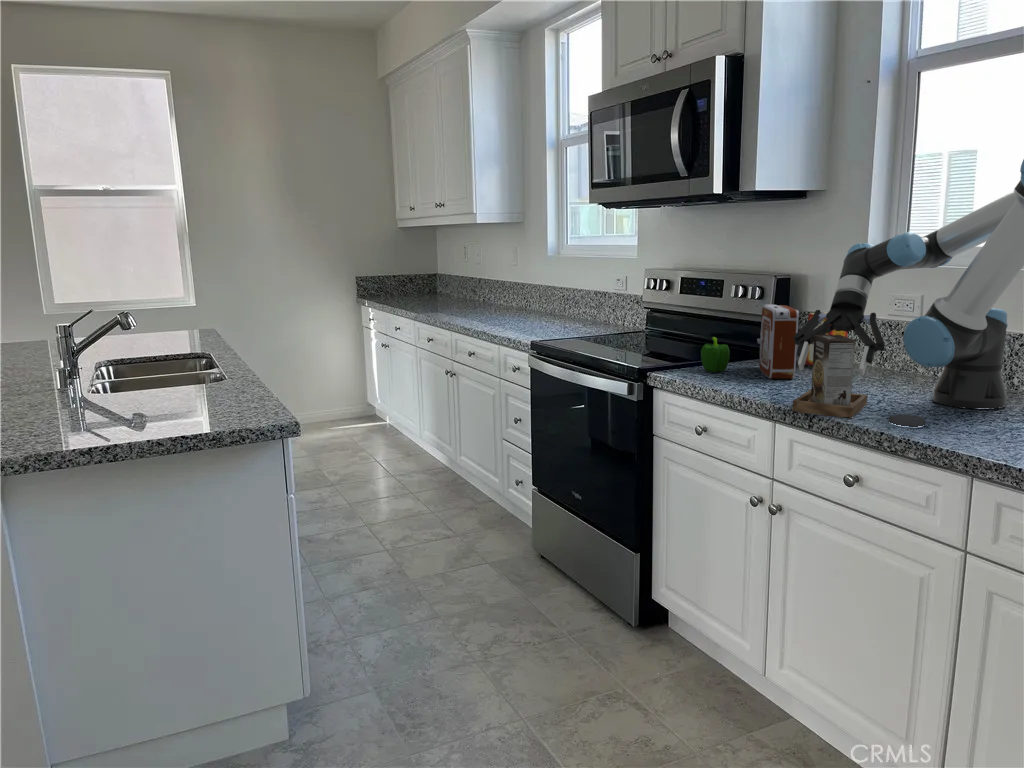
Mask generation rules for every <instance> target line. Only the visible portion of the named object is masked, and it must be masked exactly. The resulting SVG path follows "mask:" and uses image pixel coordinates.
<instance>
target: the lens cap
mask: <svg viewBox="0 0 1024 768" xmlns="http://www.w3.org/2000/svg"><path fill="white" fill-rule="evenodd" d="M889 422H890V423H893V424H896V425H901V426H909V427H918V426H923V425H925V426H926V418H924V417H922V416H919V415H914V414H893V415H889V416H888V423H889Z"/></svg>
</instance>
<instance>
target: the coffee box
mask: <svg viewBox="0 0 1024 768" xmlns="http://www.w3.org/2000/svg"><path fill="white" fill-rule="evenodd" d="M855 350H856V340H855V339H852V338H849V337H848V336H847V337H844V336H842V335H814V351H813V366H812V372H811V374H812V375H811V388H810V389H811V401H813V402H816V403H824V404H833V405H841V406H850V403H851V393H852V387H853V376H854V366H855V365H854V363H855V353H856V352H855Z"/></svg>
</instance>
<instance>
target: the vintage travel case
mask: <svg viewBox="0 0 1024 768" xmlns="http://www.w3.org/2000/svg"><path fill="white" fill-rule="evenodd" d="M799 317H800V312H799V310H798V309H795V308H793V307H791V306H790V305H789V306H788V305H783V304H779V305H777V304H763V306H762V309H761V324H760V326H761V327H760V335H759V336H760V338H757V339H756V340H757V344H759V362H758V363H759V366H758V367H759V370H760V372H761V373H762V374H763V375H765V377H767V378H768V379H769V380H792V379H794V378H795V375H796V373H795V372H796V363H797V362H796V361H797V351H798V348H799V345H796V344H795V341H794V338H793V336H794V335H795V334H796V333H797V332H798V331H799V329H798V328H799Z"/></svg>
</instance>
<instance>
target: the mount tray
mask: <svg viewBox="0 0 1024 768" xmlns="http://www.w3.org/2000/svg"><path fill="white" fill-rule="evenodd" d="M867 404H868V394H861V393H853V392H851V403H850V406H841V405H833V404H824V403H816V402H813V401H811V388H810V389H809V390H807V391H806V392H803V394H801V395H800V396H798V397H797V398H795V399H793V400H792V407H791V408H792V411H791V412H796V413H804V414H811V415H812V414H813V415H820V416H825V417H826V416H827V417H834V416H837V417H836V418H842V417H849V418H848V419H850V418H852V417H853V416H854V415H855V414H856V413H858V412H859V411H860V410H861V409H862V408H863V407H864V406H865V407H866V406H867ZM865 407H864V408H865ZM864 408H863V409H864ZM863 409H862V410H863ZM862 410H861V411H862ZM861 411H860V412H861ZM860 412H859V413H860ZM859 413H858V414H859ZM856 415H857V414H856ZM856 415H855V416H856ZM855 416H854V417H855ZM854 417H853V418H854ZM853 418H852V419H853Z"/></svg>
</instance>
